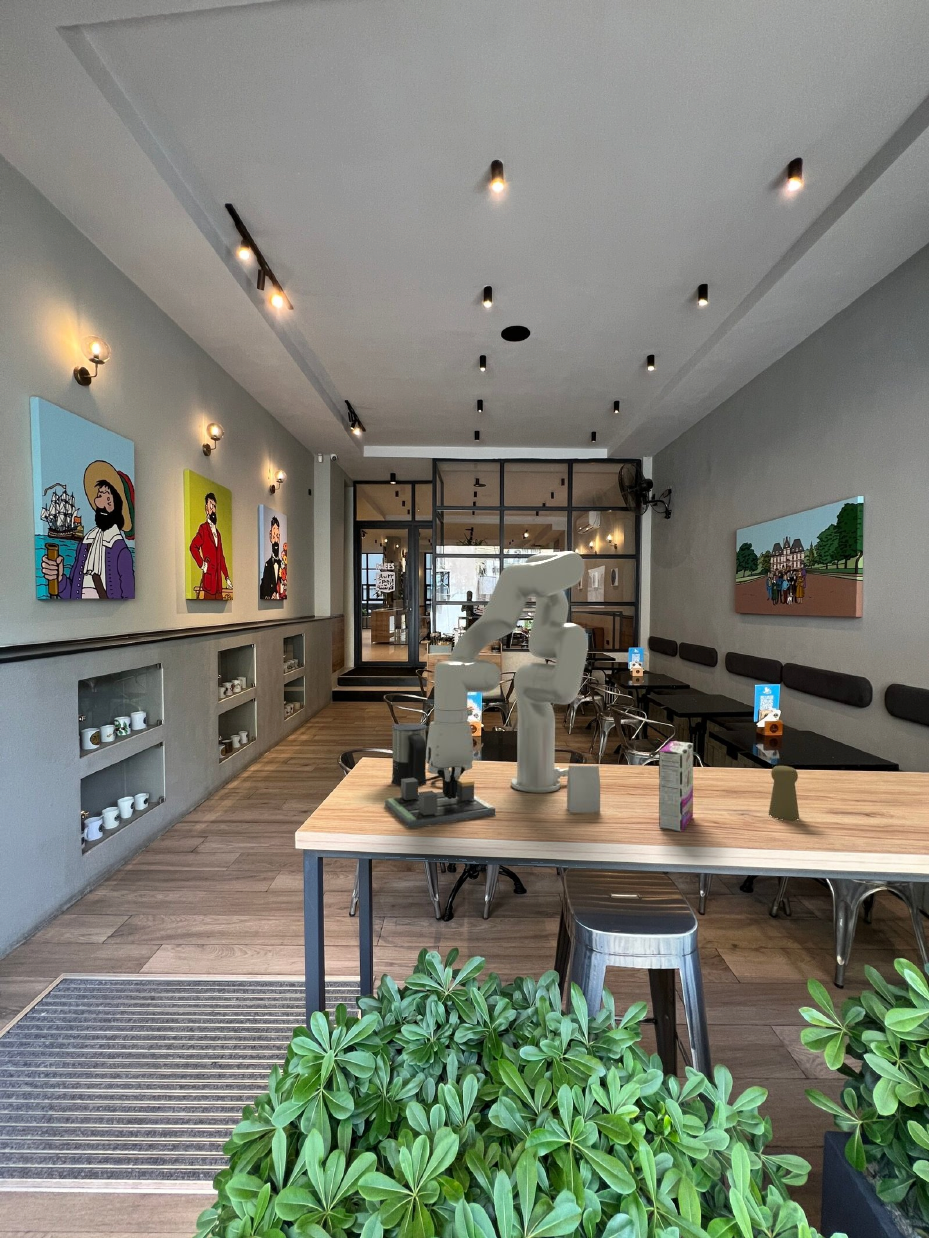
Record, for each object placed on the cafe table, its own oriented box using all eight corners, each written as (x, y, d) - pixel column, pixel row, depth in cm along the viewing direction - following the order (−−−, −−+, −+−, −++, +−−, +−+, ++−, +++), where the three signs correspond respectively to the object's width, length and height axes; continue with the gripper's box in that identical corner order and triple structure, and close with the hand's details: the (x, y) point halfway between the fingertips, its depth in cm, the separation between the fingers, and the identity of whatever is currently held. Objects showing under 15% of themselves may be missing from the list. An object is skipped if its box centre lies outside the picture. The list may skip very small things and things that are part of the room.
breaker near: (431, 808, 130) (431, 790, 130) (437, 813, 128) (437, 794, 128) (418, 810, 129) (418, 792, 129) (424, 815, 126) (424, 796, 126)
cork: (787, 822, 130) (788, 771, 130) (762, 814, 135) (763, 765, 135) (805, 818, 132) (806, 768, 132) (779, 810, 138) (780, 762, 138)
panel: (463, 794, 147) (463, 787, 147) (495, 815, 133) (495, 807, 133) (385, 805, 138) (385, 798, 138) (409, 828, 124) (409, 820, 124)
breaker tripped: (468, 795, 140) (468, 778, 140) (474, 798, 138) (474, 781, 138) (456, 796, 139) (456, 779, 139) (462, 800, 136) (462, 782, 136)
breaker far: (413, 794, 140) (413, 777, 140) (418, 798, 138) (418, 780, 138) (401, 796, 139) (401, 779, 139) (405, 800, 136) (405, 782, 136)
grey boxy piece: (600, 812, 135) (600, 768, 135) (570, 812, 135) (570, 768, 135) (596, 807, 139) (596, 763, 139) (566, 807, 139) (567, 763, 139)
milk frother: (383, 781, 158) (384, 725, 158) (430, 771, 168) (431, 718, 168) (417, 794, 147) (417, 734, 147) (465, 782, 158) (465, 726, 158)
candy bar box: (670, 813, 135) (671, 740, 135) (693, 817, 133) (694, 742, 132) (657, 828, 126) (658, 749, 125) (682, 833, 123) (683, 752, 123)
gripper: (472, 711, 143) (472, 788, 143) (413, 715, 137) (413, 796, 137) (487, 716, 136) (486, 797, 137) (426, 721, 130) (425, 806, 130)
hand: (449, 796), depth 137 cm, fingers closed
